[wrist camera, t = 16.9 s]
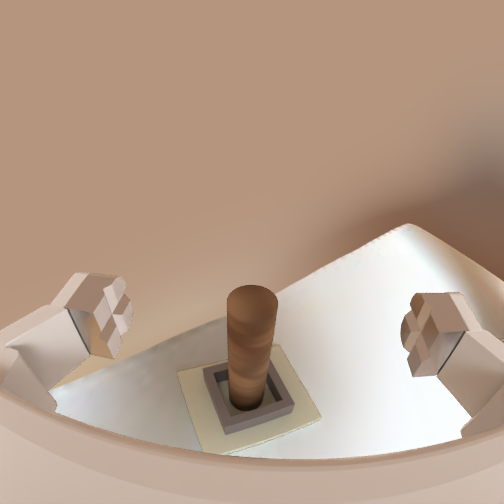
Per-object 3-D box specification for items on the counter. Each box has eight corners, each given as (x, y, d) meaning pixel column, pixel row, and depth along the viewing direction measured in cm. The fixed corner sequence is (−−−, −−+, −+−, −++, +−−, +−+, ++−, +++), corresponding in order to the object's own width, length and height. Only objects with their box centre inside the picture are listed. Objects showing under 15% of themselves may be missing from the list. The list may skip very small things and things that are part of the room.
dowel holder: (278, 348, 40) (280, 332, 38) (319, 420, 31) (327, 407, 29) (177, 376, 36) (173, 361, 34) (205, 459, 27) (202, 451, 25)
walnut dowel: (255, 379, 35) (265, 280, 26) (268, 405, 32) (286, 312, 23) (224, 388, 34) (220, 290, 25) (236, 415, 31) (237, 326, 22)
